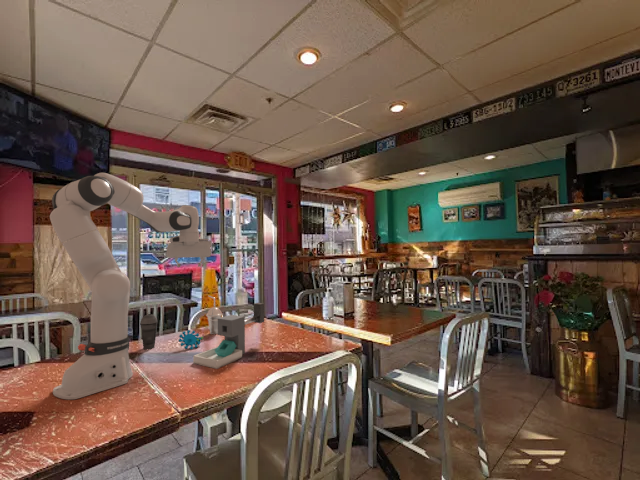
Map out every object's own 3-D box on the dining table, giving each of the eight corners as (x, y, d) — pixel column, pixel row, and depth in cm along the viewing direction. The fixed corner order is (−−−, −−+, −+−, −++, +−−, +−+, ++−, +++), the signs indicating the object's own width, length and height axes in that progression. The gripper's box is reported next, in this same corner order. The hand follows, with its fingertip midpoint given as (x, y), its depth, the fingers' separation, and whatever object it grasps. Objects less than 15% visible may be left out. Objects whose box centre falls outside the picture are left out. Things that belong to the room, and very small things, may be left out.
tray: (216, 369, 120) (216, 361, 120) (193, 363, 126) (193, 355, 126) (242, 357, 132) (242, 350, 133) (219, 352, 139) (219, 345, 139)
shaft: (232, 332, 134) (232, 311, 134) (225, 331, 136) (225, 310, 136) (264, 321, 153) (264, 303, 153) (257, 320, 155) (257, 302, 155)
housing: (231, 359, 131) (231, 320, 131) (217, 356, 134) (217, 318, 135) (244, 353, 138) (244, 316, 138) (231, 350, 141) (231, 314, 142)
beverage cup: (150, 350, 142) (150, 306, 142) (136, 350, 143) (136, 306, 143) (161, 345, 149) (161, 303, 149) (147, 345, 150) (147, 303, 150)
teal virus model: (180, 348, 139) (178, 329, 146) (176, 356, 142) (174, 336, 148) (205, 346, 146) (202, 328, 153) (200, 353, 149) (197, 335, 155)
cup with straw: (207, 336, 164) (207, 297, 165) (204, 332, 172) (204, 295, 173) (223, 333, 168) (223, 296, 169) (220, 330, 176) (220, 294, 177)
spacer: (225, 353, 129) (233, 341, 133) (214, 351, 132) (223, 339, 136) (228, 357, 130) (236, 346, 135) (217, 355, 133) (226, 344, 137)
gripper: (211, 238, 162) (211, 265, 161) (166, 238, 154) (166, 267, 153) (212, 238, 156) (212, 266, 156) (166, 238, 148) (166, 267, 147)
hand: (189, 266), depth 154 cm, fingers open, 8 cm apart
